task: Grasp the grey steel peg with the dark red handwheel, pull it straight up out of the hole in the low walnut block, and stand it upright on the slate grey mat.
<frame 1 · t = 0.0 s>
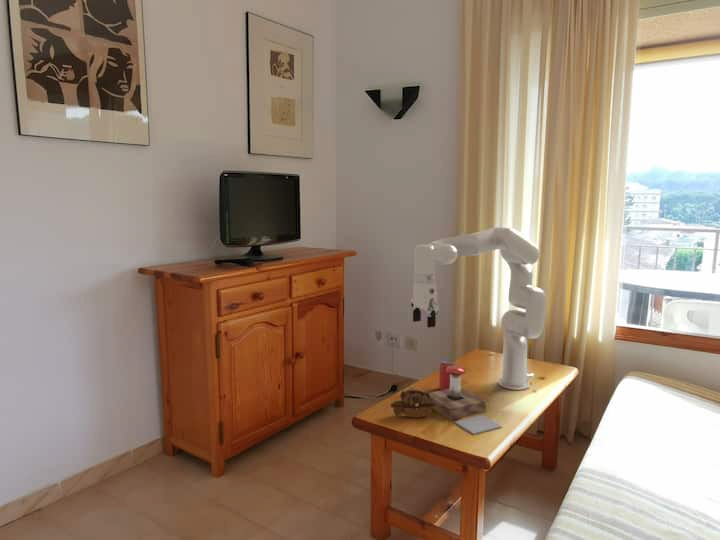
hand: (423, 324, 191), 31 cm above the table, tool pointing down, fingers open, 9 cm apart
wooden carving: (413, 417, 185), on the table
beer can: (447, 390, 210), on the table
eye block: (454, 407, 193), on the table
peg: (455, 388, 191), in the eye block
mat: (478, 425, 177), on the table
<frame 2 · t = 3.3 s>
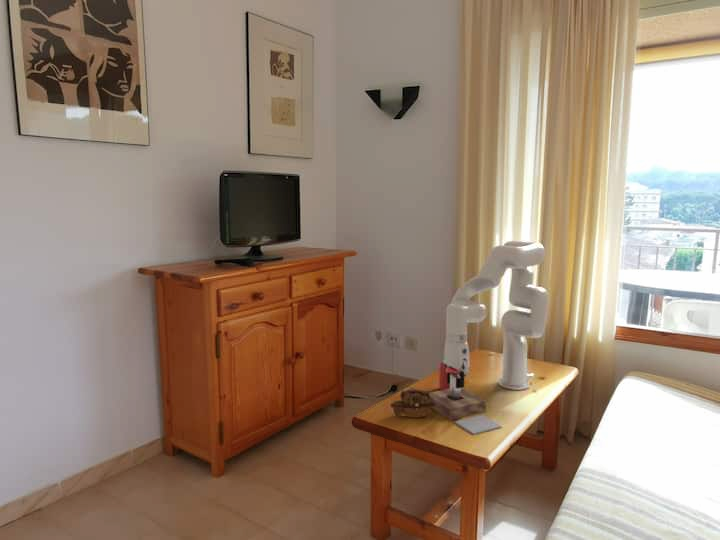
hand: (455, 384, 191), 9 cm above the table, tool pointing down, fingers closed on peg, 4 cm apart
peg: (455, 388, 191), in the eye block, touching gripper
everything else where it was.
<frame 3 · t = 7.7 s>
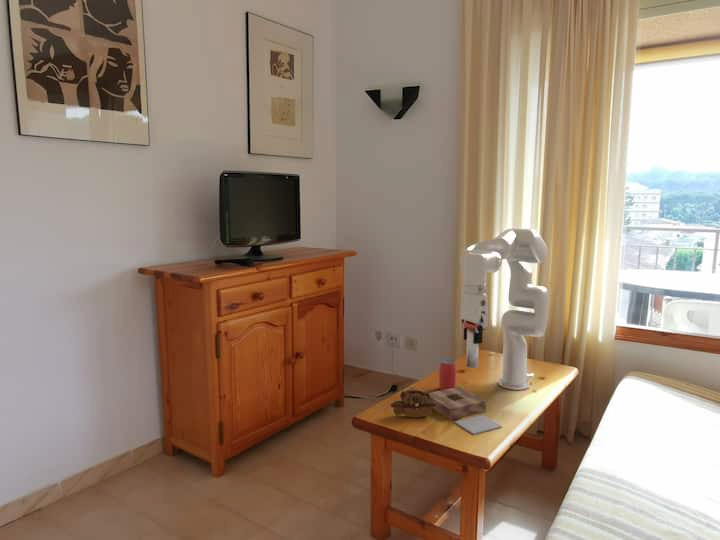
hand: (472, 340, 178), 29 cm above the table, tool pointing down, fingers closed on peg, 4 cm apart
peg: (472, 344, 178), point 27 cm above the table, touching gripper
everything else where it was.
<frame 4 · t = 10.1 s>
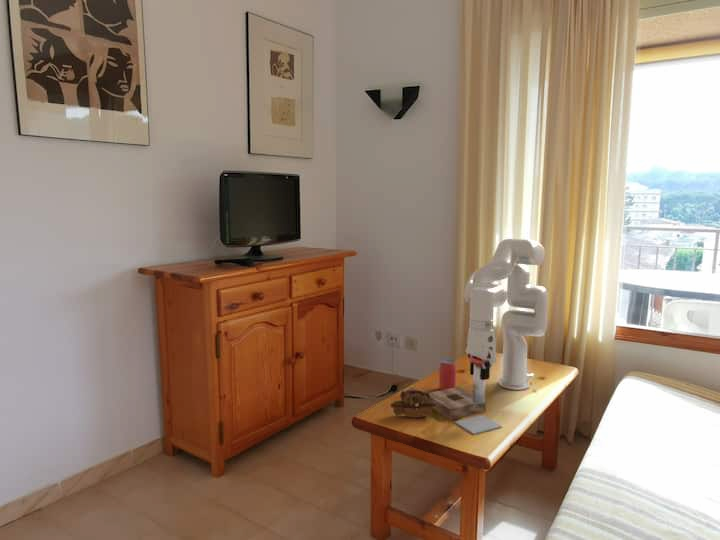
hand: (479, 376, 175), 18 cm above the table, tool pointing down, fingers closed on peg, 4 cm apart
peg: (479, 379, 175), point 16 cm above the table, touching gripper
everything else where it was.
when the fingers open (11 cm above the table, at t = 12.3 s): peg drops 1 cm, resting on mat.
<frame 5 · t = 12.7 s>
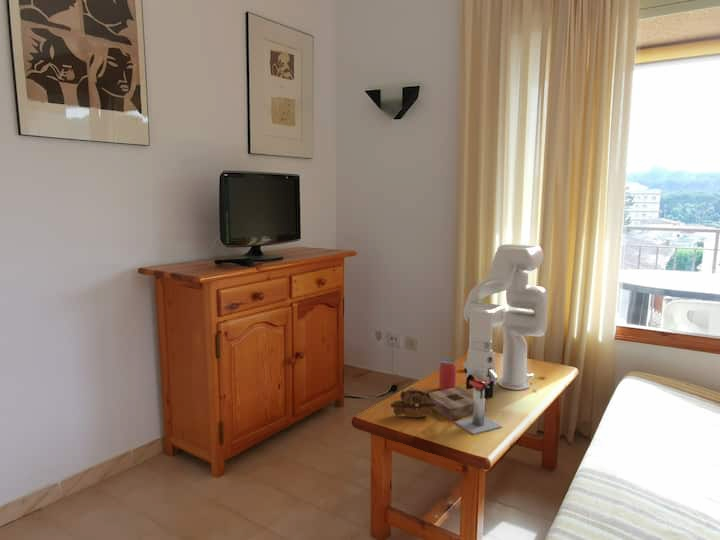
hand: (479, 393, 176), 12 cm above the table, tool pointing down, fingers open, 9 cm apart
peg: (478, 402, 176), on the mat, point 8 cm above the table
everything else where it was.
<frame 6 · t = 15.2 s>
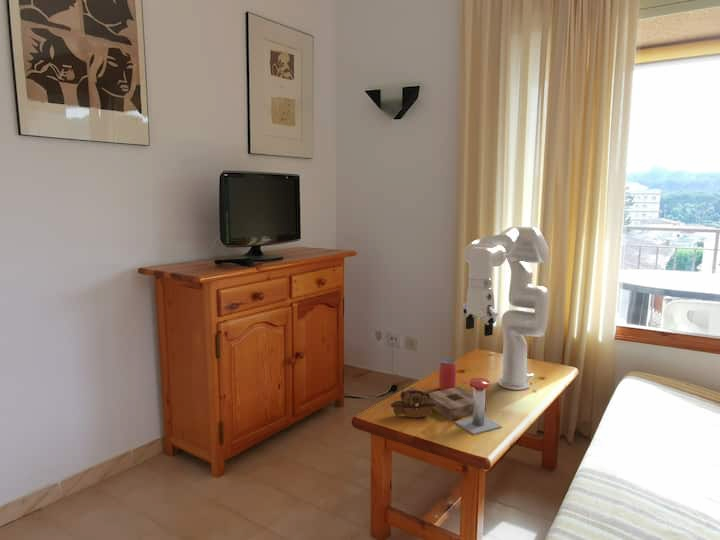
hand: (478, 331, 179), 32 cm above the table, tool pointing down, fingers open, 9 cm apart
nothing on the table moved.
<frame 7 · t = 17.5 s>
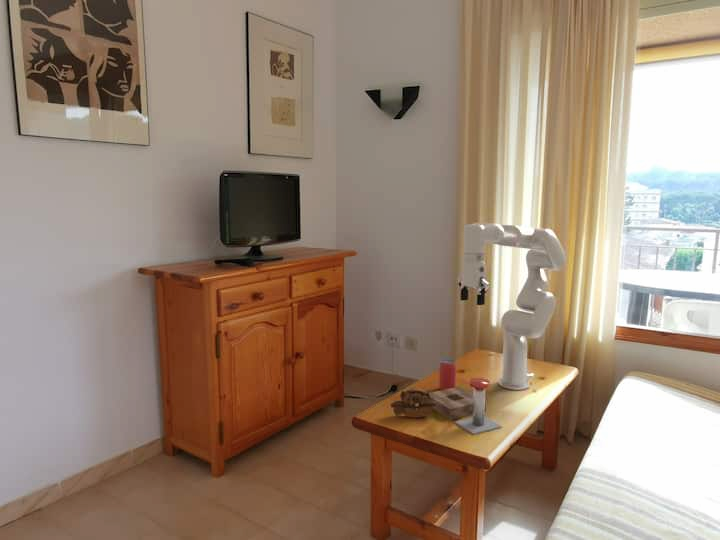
hand: (472, 302, 195), 38 cm above the table, tool pointing down, fingers open, 9 cm apart
nothing on the table moved.
at the end: peg inside the target area on the mat (0.0 cm from its centre), point 8.2 cm above the mat's base; peg tilted 0°; the gripper is holding nothing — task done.
